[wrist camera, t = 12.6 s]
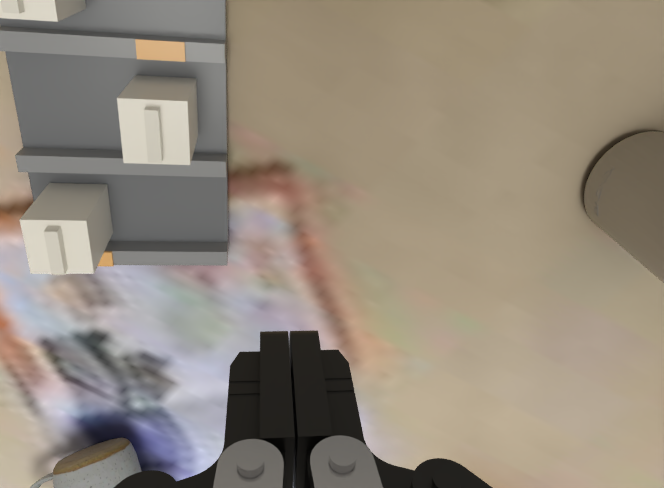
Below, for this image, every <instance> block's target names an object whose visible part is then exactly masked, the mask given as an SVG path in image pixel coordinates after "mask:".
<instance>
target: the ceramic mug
mask: <svg viewBox="0 0 664 488" xmlns="http://www.w3.org/2000/svg"><path fill="white" fill-rule="evenodd" d="M138 472H142V471H141V468H140V464H139V461H138V457H137V454H136V452H135V450H134V448H133V446H132V444H131V442H130V441H129V440H127V439H125V438H115V439H111V440H108V441H104V442H101V443H98V444H95V445H93V446H90V447H87V448H85V449H83V450H80V451H78V452H75V453H73V454H71V455H69V456H67V457H65V458H64V459H62V460H60V461H59V462H58V463H57V464H56V466H55V468H54V469H53V472H52V473H50V474H48V475H46V476H45V477H43V478H41V479H40V480H38V481H37V482H36V483H34V484H33V485H32V486H31V487H30V488H39V487H40V486H41V484H42V483H44V482H46V481H49V480H51V479H53V485H54V488H114V487H115V486H116V485H117V484H118V483H120V482H121V481H122V480H124V479H125V478H127V477H129V476H130V475H133V474H135V473H138Z"/></svg>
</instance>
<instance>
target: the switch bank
mask: <svg viewBox="0 0 664 488" xmlns="http://www.w3.org/2000/svg"><path fill="white" fill-rule="evenodd" d="M85 3H86V9H84V10H82V11H80V12H78V13H76V14H73V15H71V16H69V17H67V18H65V19H63V20H60V21H58V22H54V21H38V20H23V19H7V18H0V51H5V53H6V58H7V63H8V68H9V74H10V79H11V84H12V89H13V95H14V100H15V105H16V110H17V116H18V121H19V126H20V131H21V137H22V142H23V148H22V149H21V150H20V151H19V152H18V153H17V154H16V155H15V157H16V162H17V167H18V172H28V174H29V179H30V184H31V189H32V195H33V200H34V201H35V200H36V199H37V198H38V196H39V195H40V194H41V193H42V191H43V190H44V189H45V188H46V186H47V185H48V184H49V183H75V184H107V187H108V195H109V203H110V212H111V220H112V228H113V234H112V236H111V238H110V240H109V242H108V244H107V247H106V249H105V251H104V253H103V255H102V257H101V260H100V262H99V264H98V266H114V265H227V261H228V154H227V53H226V0H85ZM135 75H141V76H160V77H179V78H196V85H197V113H198V138H197V142H196V146H195V149H194V153H193V157H192V161H191V164H190V165H170V164H136V163H124V162H123V153H122V143H121V133H120V124H119V114H118V104H117V97H118V96H119V95H120V94H121V92H122V91H123V90H124V89H125V87H126V86H127V85H128V84H129V83H130V81H131V80H132V79H133V78H134V76H135Z"/></svg>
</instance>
